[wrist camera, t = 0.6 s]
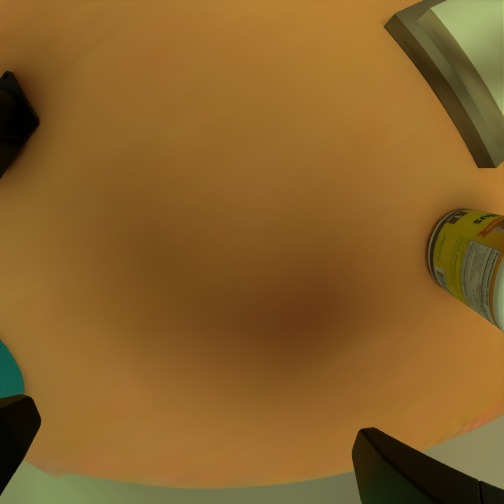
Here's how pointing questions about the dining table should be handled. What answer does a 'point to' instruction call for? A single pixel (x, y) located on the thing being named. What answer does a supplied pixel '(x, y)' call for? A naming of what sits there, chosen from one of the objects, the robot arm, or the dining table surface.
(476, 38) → the stand
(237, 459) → the dining table surface
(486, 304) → the supplement bottle
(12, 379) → the mug
